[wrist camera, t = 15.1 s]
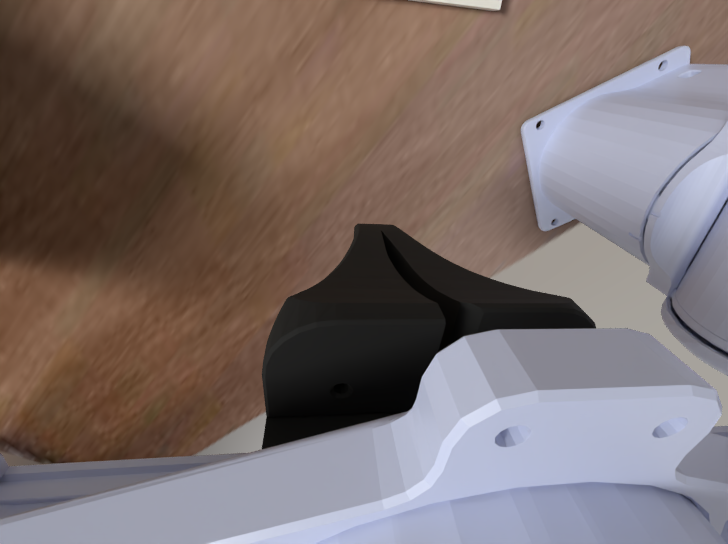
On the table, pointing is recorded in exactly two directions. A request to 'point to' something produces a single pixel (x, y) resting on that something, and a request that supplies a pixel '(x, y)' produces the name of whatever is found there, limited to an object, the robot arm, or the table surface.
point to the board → (469, 3)
